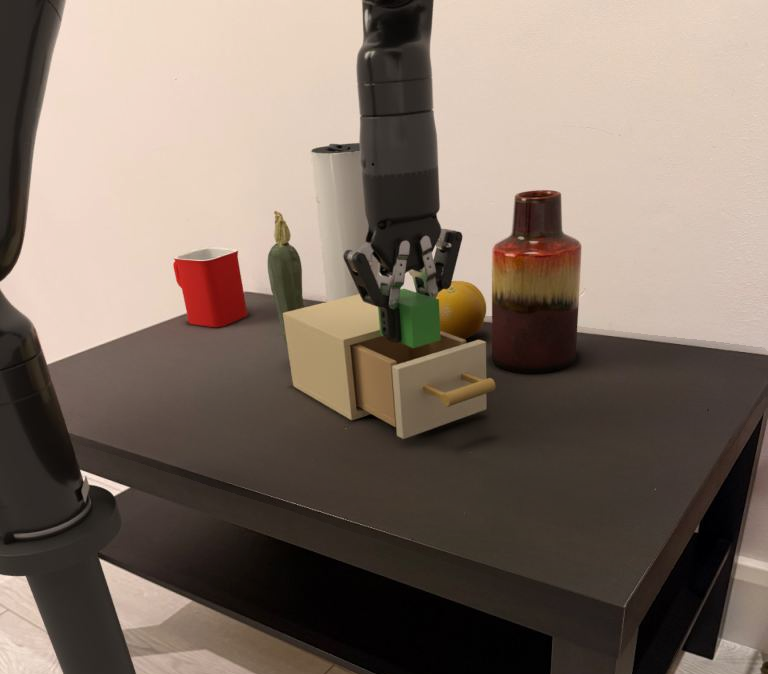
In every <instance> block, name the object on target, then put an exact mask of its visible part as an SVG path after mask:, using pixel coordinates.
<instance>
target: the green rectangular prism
mask: <svg viewBox="0 0 768 674" xmlns="http://www.w3.org/2000/svg"><path fill="white" fill-rule="evenodd" d="M397 308H400V322H401V337H402V340H401V342H399V343H402V344H404V345H407V346H409V347H412V348H416V347H419V346H423V345H426V344H429V343H433V342H436V341H439V340H441V339H440V313H439V299H436V298H433V297H429V296H426V295H423V294H420V293H417V292H416V291H414V290H410V289H407V288H401V289H400V297H399V305H398V307H397ZM378 313H379V326H380V335H382V336H383V334H382V331H381V318H380V309H379V307H378ZM384 337H385V336H384Z"/></svg>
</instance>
